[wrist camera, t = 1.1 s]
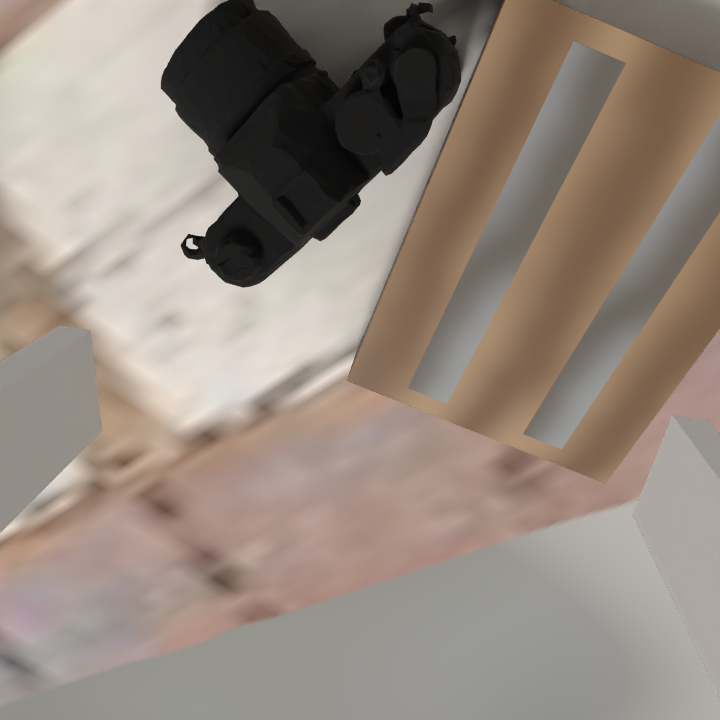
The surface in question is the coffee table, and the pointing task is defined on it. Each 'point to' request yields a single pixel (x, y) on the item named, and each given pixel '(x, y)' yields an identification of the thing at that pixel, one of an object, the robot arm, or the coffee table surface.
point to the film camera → (299, 127)
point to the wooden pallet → (559, 244)
